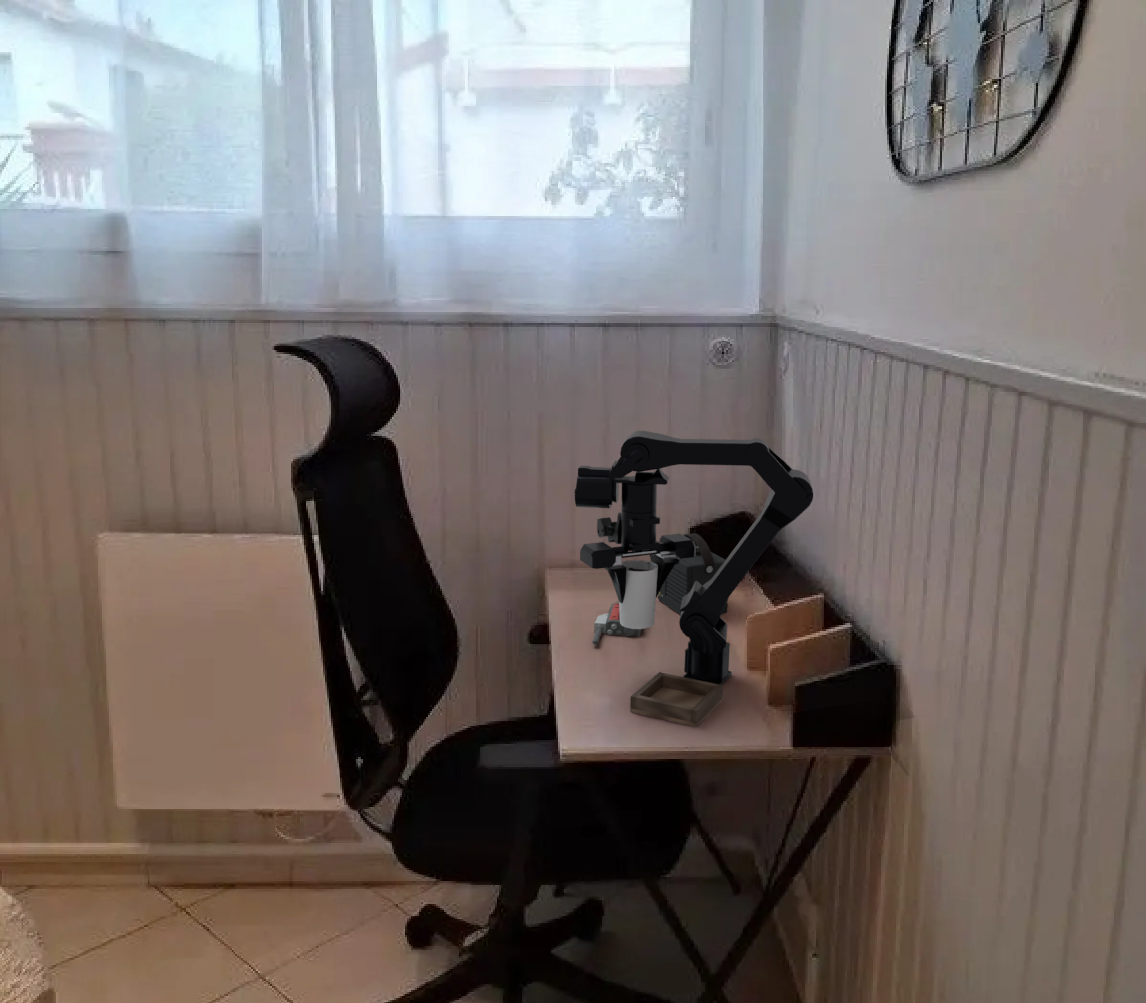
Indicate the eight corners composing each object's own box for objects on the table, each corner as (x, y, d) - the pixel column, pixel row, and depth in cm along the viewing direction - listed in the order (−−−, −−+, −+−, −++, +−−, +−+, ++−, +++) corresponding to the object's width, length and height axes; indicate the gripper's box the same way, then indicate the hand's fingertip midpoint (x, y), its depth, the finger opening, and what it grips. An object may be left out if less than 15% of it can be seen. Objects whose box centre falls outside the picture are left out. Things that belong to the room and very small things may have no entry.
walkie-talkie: (601, 613, 208) (588, 650, 189) (601, 592, 207) (588, 626, 188) (645, 615, 207) (637, 653, 187) (646, 594, 206) (637, 629, 186)
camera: (700, 593, 219) (703, 524, 216) (734, 614, 207) (737, 541, 203) (653, 599, 216) (655, 528, 212) (685, 621, 203) (687, 546, 200)
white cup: (619, 630, 172) (619, 572, 170) (615, 616, 179) (616, 560, 176) (659, 629, 172) (660, 571, 170) (654, 616, 179) (655, 559, 177)
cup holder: (722, 700, 167) (723, 685, 166) (696, 727, 157) (697, 711, 157) (659, 686, 172) (659, 672, 171) (630, 711, 162) (630, 696, 162)
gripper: (667, 494, 182) (665, 580, 185) (567, 503, 175) (567, 593, 178) (698, 508, 172) (696, 599, 175) (593, 518, 165) (593, 613, 168)
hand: (637, 600), depth 175 cm, fingers closed on white cup, 6 cm apart
